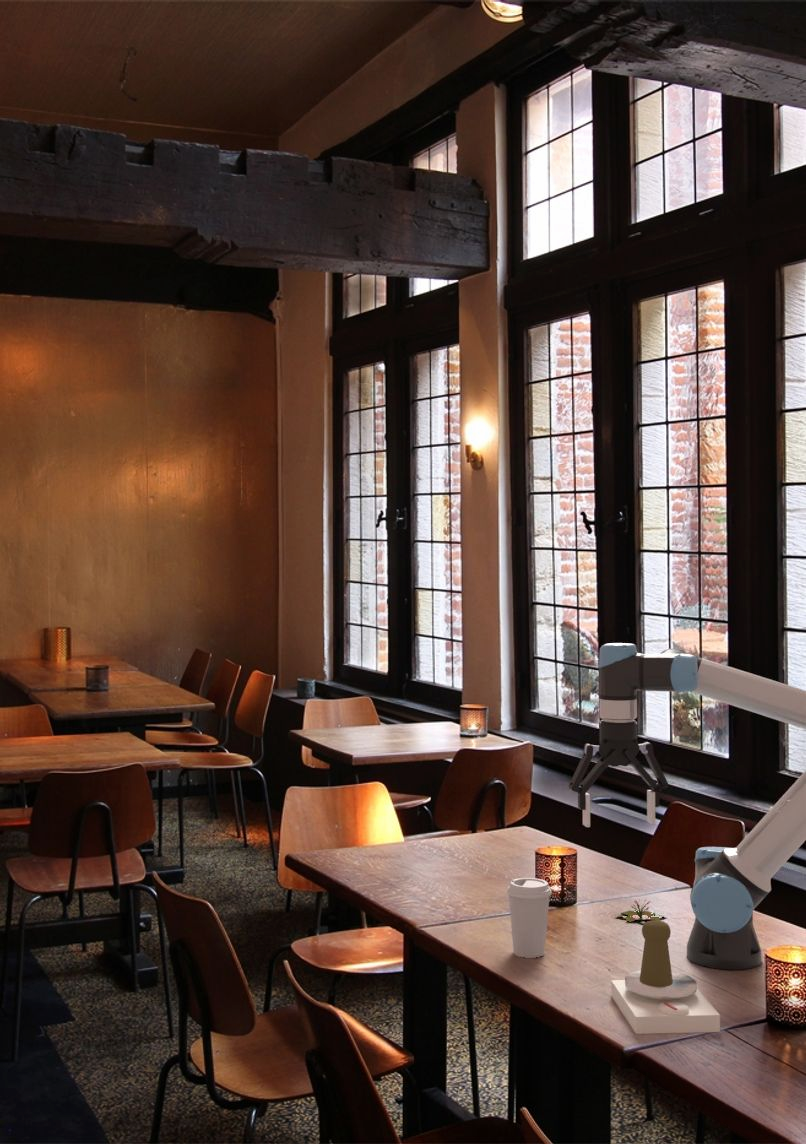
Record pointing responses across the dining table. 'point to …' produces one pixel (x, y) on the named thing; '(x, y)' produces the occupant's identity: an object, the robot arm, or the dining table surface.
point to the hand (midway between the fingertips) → (618, 824)
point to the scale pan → (677, 990)
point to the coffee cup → (529, 915)
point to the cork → (656, 955)
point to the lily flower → (639, 913)
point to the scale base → (665, 1012)
